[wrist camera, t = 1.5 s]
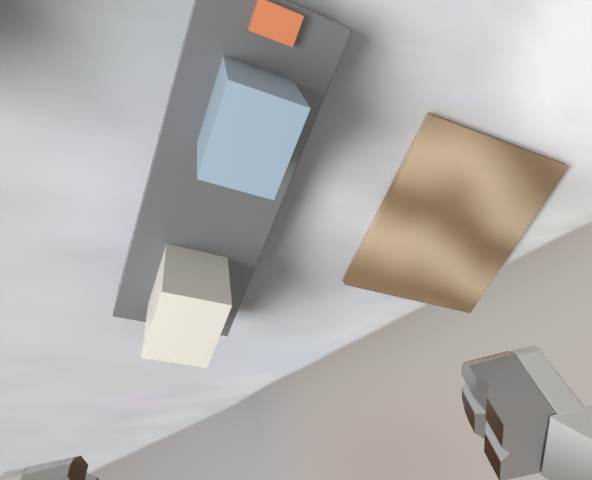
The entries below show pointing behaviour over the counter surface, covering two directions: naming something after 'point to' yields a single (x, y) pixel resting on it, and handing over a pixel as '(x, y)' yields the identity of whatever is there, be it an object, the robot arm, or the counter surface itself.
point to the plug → (187, 307)
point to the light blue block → (249, 129)
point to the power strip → (186, 128)
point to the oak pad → (452, 216)
